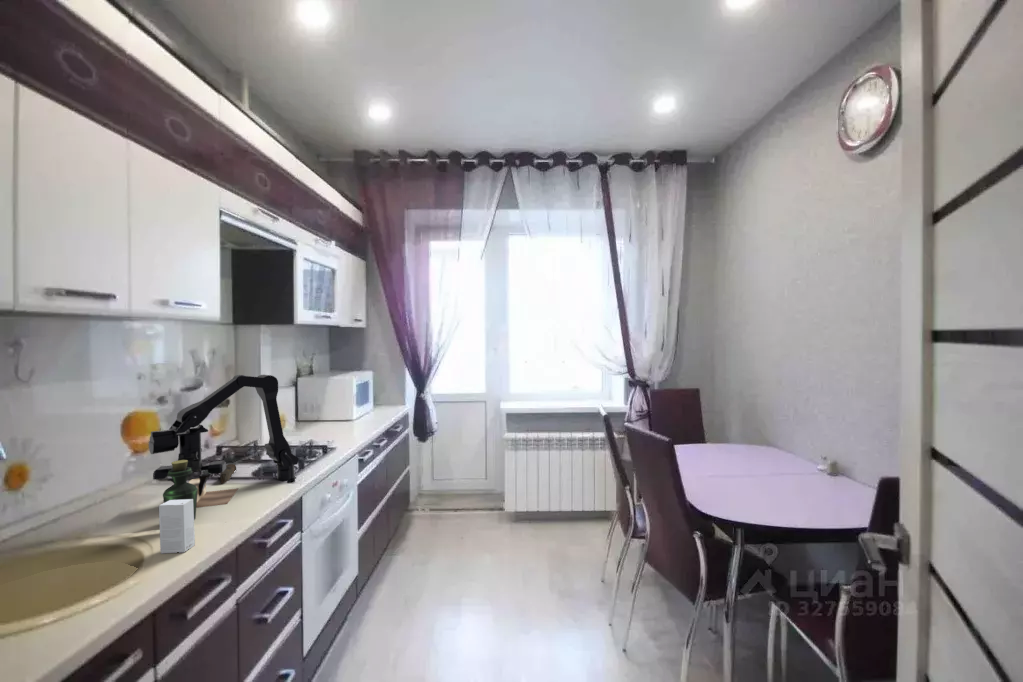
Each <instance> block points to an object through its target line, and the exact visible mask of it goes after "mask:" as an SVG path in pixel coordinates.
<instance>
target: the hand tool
mask: <svg viewBox="0 0 1023 682" xmlns="http://www.w3.org/2000/svg"><path fill="white" fill-rule="evenodd" d="M235 470H236V471H237V466H236V464H235V463H228V464H226V469H225V470H224V471H223V472H222V473H219V479H220V480H219V482H220V484H221V485H224V484H226V483H227V482H228V481H230V480H231V478H232V476H233V475H234V474H235V473H234V471H235ZM232 474H233V475H232ZM231 475H232V476H231ZM230 477H231V478H230Z"/></svg>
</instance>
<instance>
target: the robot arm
mask: <svg viewBox="0 0 1023 682" xmlns="http://www.w3.org/2000/svg"><path fill="white" fill-rule="evenodd" d="M244 387H247V388H248V387H249V388H255V390H256V393H257V395H258V396H259V398H260V399H261V401H262V407H263V411H264V416H265V421H266V426H267V430H268V431H267V432H268V435H269V439H268V440H269V441H268V443H264V447H265V452H266V453H265V455H266V456H268V458H269V459H271V460H273V463H274V464H277V465H276V471H277V474H276V476H277V478H276V479H277V480H278V481H280V482H286V483H292V482H291V481H294V482H296V480H295V479H297V477H295V476H296V474H295V466H296V465H297V464H298V462H299V457H297V456H296V455H295V454H294V453H292V449H291V446H290V443H289V442H288V441H287V439H286V438H285V435H284V432H283V426H282V421H281V420H282V419H281V415H280V410H279V406H278V400H277V399H278V398H277V397H278V395H279V380H278V378H277V377H276V376H274V375H272V374H271V375H270V374H260V375H257V376H249V375H244V374H236V375H234V376H233V377H232V378H231V379H230V380H228V381H227V382H225V383H224V384H222V386H220V387H219V388H217V389H216V390H214V391H213V392H212V393H210V394H209V395H207V396H206V397H205V398H204V399H202V400H200V401H197V402H195V403H192V404H190V405H188V406H186V407H184V408H182V409H181V410H179V412H178V413H177V414H176V419H175V421H174V422H173V423H172V424H171V426H170V427H169V429H165V430H154V431H153V430H152V431H150V436H149V441H148V449H149V453H150V455H155V454H163V453H166V452H167V453H168V452H173V451H175V449H177V448H178V447H179V453H178V458H177V461H179V460H188V462H187V467H189V468H191V470H192V473H190V474H188V477H192V476H193V475H194V473H197V472H198V473H200V475H198V477H199V478H198V479H200V485H199V496H201V495H202V492H203V490H204V487H205V484H206V485H207V483H208V479H209V478H210V477H211V476H212V475H214V474H215V475H216V474H220V473H222V472H223V471H224V470H225V469H226V465H227V461H226V460H216V461H212V462H210V463H209V464H205V465H203V460H202V451H203V449H202V434H203V433H208V432H209V430H208V429H207V428H205V427H204V425H203V424H202V423H203V421H205V419H207V418H208V416H209V414H210V413H212V411H213V410H214V409H216V407H218V406H219V405H221V404H222V403H223V402H225V401H226V400H228V399H229V398H230V397H232V396H233V395H234V394H236V393H237V392H238V391H240V390H241V389H243V388H244ZM172 469H173V467H172V464H171V465H170V464H169V465H161V466H159V467H157V468H156V469H155V470H154V471H153V473H152V479H153V480H154V481H155V480H163V479H166V481H170V482H172V483H173V484H174V482H173V479H172V477H169V476H167V475H168V472H169V471H170V470H172Z"/></svg>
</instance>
